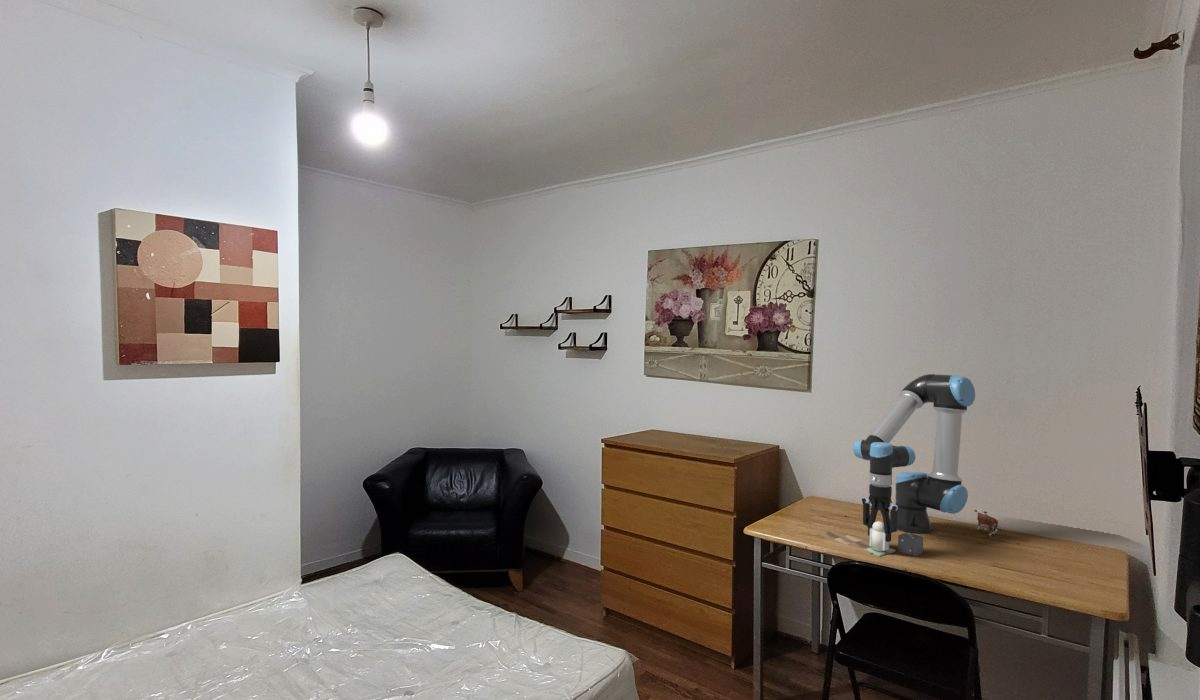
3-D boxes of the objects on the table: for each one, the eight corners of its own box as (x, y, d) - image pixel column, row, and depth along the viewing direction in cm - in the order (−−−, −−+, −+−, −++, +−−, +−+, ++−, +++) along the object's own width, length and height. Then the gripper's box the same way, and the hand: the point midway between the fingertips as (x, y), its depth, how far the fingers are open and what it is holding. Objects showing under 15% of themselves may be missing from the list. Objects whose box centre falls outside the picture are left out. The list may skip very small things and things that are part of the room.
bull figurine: (982, 526, 251) (982, 507, 251) (1000, 537, 237) (1000, 517, 237) (971, 526, 251) (971, 507, 251) (988, 536, 238) (989, 516, 238)
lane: (834, 532, 241) (834, 530, 241) (895, 551, 220) (895, 549, 220) (818, 536, 236) (818, 534, 236) (879, 556, 214) (879, 554, 214)
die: (906, 548, 224) (907, 531, 224) (922, 553, 219) (923, 536, 219) (897, 551, 220) (898, 534, 220) (914, 556, 215) (914, 539, 215)
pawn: (876, 546, 222) (877, 519, 222) (888, 550, 219) (888, 522, 219) (869, 548, 220) (869, 520, 220) (880, 552, 216) (881, 523, 216)
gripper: (852, 481, 225) (851, 542, 225) (897, 491, 210) (896, 556, 210) (864, 478, 229) (863, 539, 229) (909, 488, 214) (907, 553, 214)
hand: (879, 547), depth 220 cm, fingers closed on pawn, 4 cm apart
